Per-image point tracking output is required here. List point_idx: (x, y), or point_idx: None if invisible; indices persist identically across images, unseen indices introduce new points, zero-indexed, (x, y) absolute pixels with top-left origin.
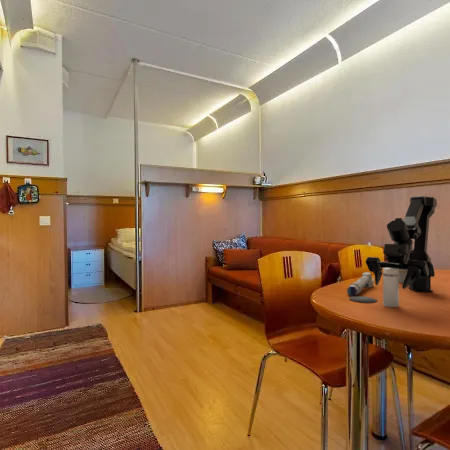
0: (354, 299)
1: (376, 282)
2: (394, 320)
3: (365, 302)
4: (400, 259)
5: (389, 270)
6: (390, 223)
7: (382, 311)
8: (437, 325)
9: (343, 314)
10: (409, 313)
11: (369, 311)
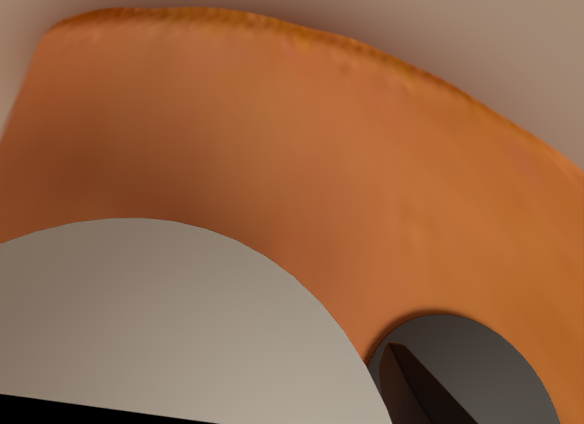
0: (492, 359)
1: (393, 349)
2: (199, 95)
3: (402, 325)
4: None
5: (142, 233)
6: None
7: (265, 194)
8: (37, 117)
9: (381, 71)
10: None
11: (316, 160)
